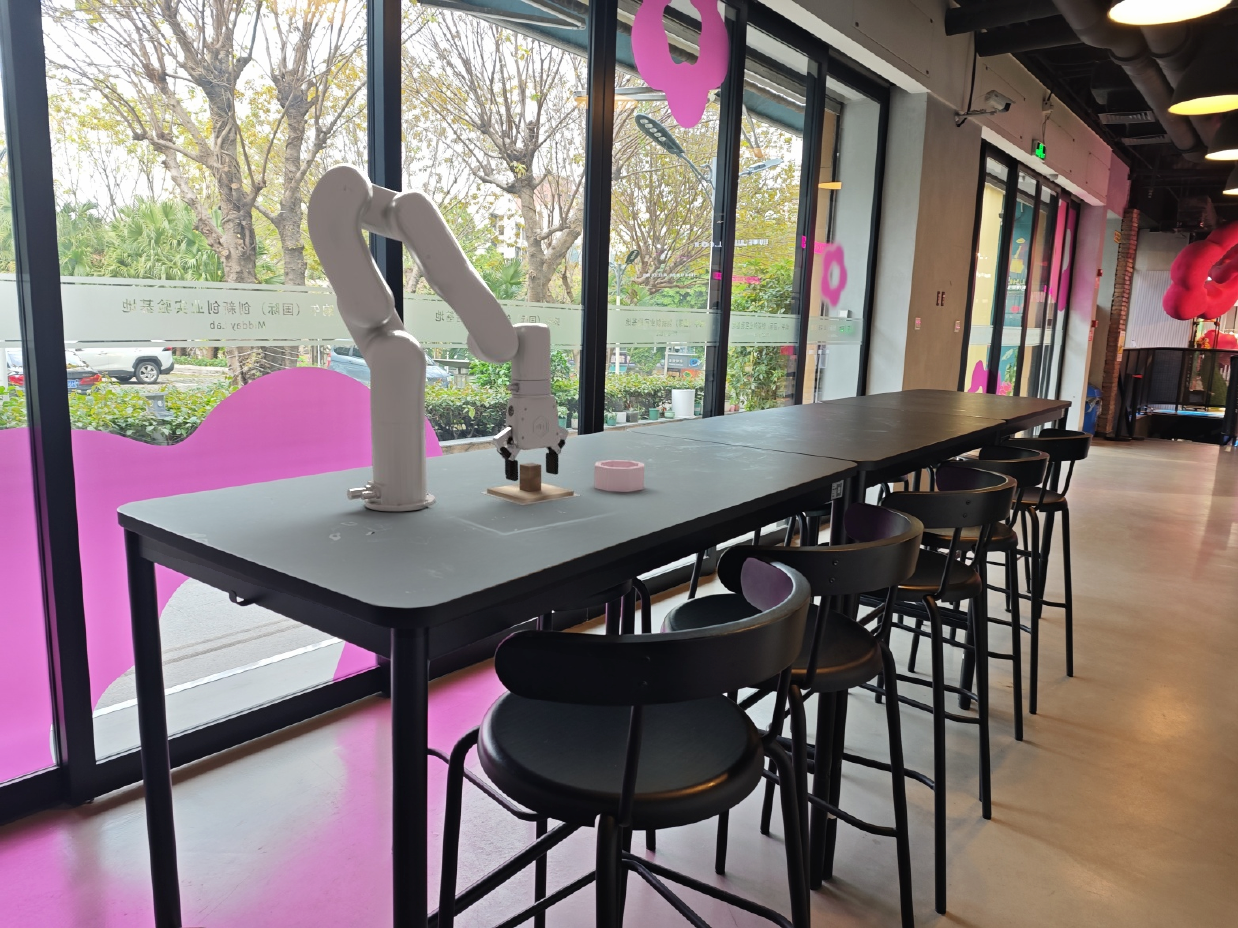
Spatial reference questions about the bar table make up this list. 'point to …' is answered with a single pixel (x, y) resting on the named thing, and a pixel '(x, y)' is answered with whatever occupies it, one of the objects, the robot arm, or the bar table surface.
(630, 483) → the bowl
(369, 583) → the bar table surface
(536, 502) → the mat
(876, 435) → the bar table surface
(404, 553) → the bar table surface
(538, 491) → the lid
